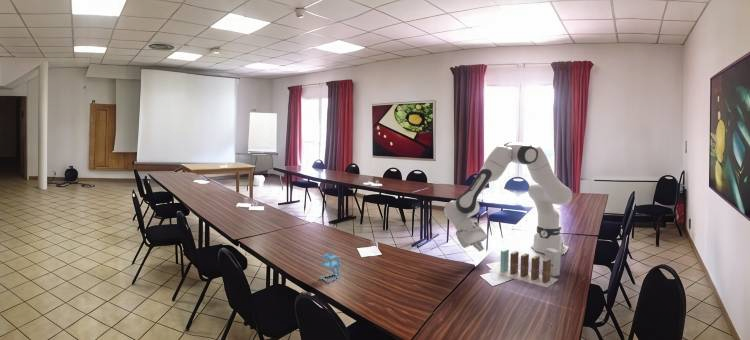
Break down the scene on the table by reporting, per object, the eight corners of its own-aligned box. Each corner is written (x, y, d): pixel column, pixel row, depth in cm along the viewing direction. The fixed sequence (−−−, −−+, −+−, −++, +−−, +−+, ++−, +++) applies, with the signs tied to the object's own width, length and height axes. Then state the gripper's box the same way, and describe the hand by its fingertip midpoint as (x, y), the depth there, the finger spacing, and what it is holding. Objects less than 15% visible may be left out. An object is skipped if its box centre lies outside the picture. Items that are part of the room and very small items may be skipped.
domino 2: (510, 273, 176) (510, 253, 175) (514, 271, 180) (515, 250, 179) (513, 274, 175) (513, 254, 174) (518, 271, 178) (518, 251, 177)
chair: (343, 278, 174) (343, 253, 173) (330, 283, 168) (329, 257, 167) (332, 274, 179) (332, 249, 178) (319, 278, 173) (319, 253, 172)
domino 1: (500, 271, 180) (500, 250, 179) (505, 268, 183) (505, 248, 182) (503, 271, 179) (503, 251, 178) (508, 269, 182) (508, 249, 181)
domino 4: (530, 279, 169) (531, 258, 168) (535, 276, 172) (536, 255, 171) (534, 280, 168) (535, 258, 167) (539, 277, 171) (539, 256, 170)
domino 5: (542, 282, 165) (542, 260, 164) (546, 279, 169) (547, 258, 168) (545, 283, 164) (546, 261, 163) (550, 280, 168) (550, 258, 167)
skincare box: (543, 272, 178) (544, 248, 177) (550, 271, 180) (551, 247, 179) (552, 277, 173) (553, 252, 172) (560, 276, 174) (561, 251, 173)
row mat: (501, 265, 189) (501, 264, 189) (558, 280, 169) (558, 279, 169) (488, 272, 180) (488, 270, 180) (547, 288, 160) (547, 287, 160)
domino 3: (520, 276, 172) (520, 255, 172) (525, 273, 176) (525, 253, 175) (523, 277, 171) (524, 256, 170) (528, 274, 175) (528, 254, 174)
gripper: (458, 228, 186) (474, 251, 180) (479, 221, 200) (495, 242, 194) (450, 235, 190) (466, 258, 184) (472, 228, 204) (487, 249, 198)
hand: (481, 250), depth 189 cm, fingers closed
